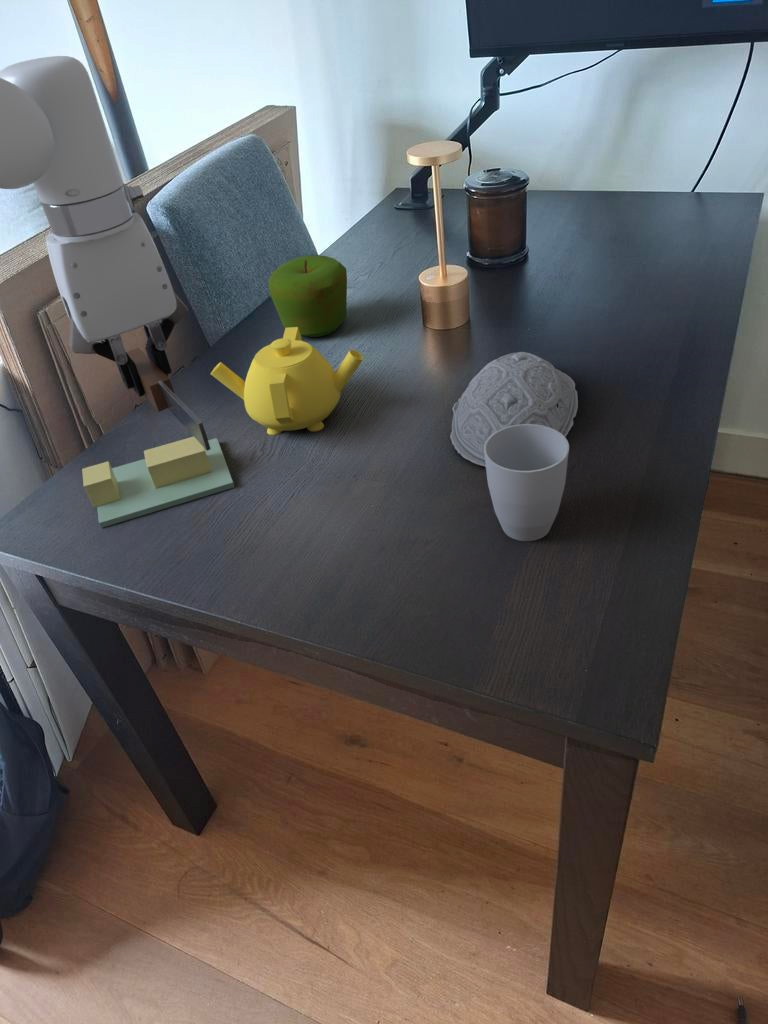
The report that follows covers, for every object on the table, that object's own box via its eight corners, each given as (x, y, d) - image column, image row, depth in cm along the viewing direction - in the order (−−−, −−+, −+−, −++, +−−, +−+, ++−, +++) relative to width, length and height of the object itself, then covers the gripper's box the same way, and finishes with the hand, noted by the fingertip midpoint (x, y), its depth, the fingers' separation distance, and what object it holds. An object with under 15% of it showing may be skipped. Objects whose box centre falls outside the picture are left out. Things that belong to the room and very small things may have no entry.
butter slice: (93, 507, 90) (83, 486, 88) (91, 489, 93) (81, 468, 91) (120, 499, 91) (111, 478, 89) (117, 481, 94) (108, 460, 92)
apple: (282, 316, 128) (268, 250, 121) (354, 307, 127) (344, 240, 120) (276, 351, 118) (260, 281, 111) (354, 341, 118) (343, 270, 111)
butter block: (155, 488, 92) (146, 467, 90) (151, 471, 95) (143, 450, 93) (211, 471, 93) (205, 450, 91) (206, 455, 96) (199, 434, 94)
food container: (586, 363, 103) (582, 318, 98) (564, 481, 86) (559, 433, 81) (474, 369, 108) (467, 326, 104) (433, 481, 91) (422, 436, 87)
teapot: (373, 377, 108) (363, 303, 101) (368, 448, 94) (355, 369, 87) (236, 390, 110) (217, 318, 103) (212, 461, 96) (187, 384, 89)
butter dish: (101, 528, 88) (98, 523, 88) (95, 478, 96) (93, 473, 96) (234, 487, 91) (233, 482, 91) (218, 442, 100) (217, 437, 99)
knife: (128, 378, 85) (118, 352, 83) (146, 371, 86) (137, 345, 84) (198, 456, 71) (189, 427, 69) (220, 447, 71) (211, 418, 69)
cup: (577, 513, 80) (582, 434, 74) (546, 560, 75) (548, 480, 69) (507, 494, 84) (506, 417, 78) (473, 537, 79) (469, 459, 73)
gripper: (157, 183, 76) (205, 349, 87) (-6, 228, 70) (69, 400, 81) (184, 197, 71) (232, 372, 82) (11, 247, 65) (88, 428, 76)
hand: (150, 385), depth 82 cm, fingers closed on knife, 2 cm apart
